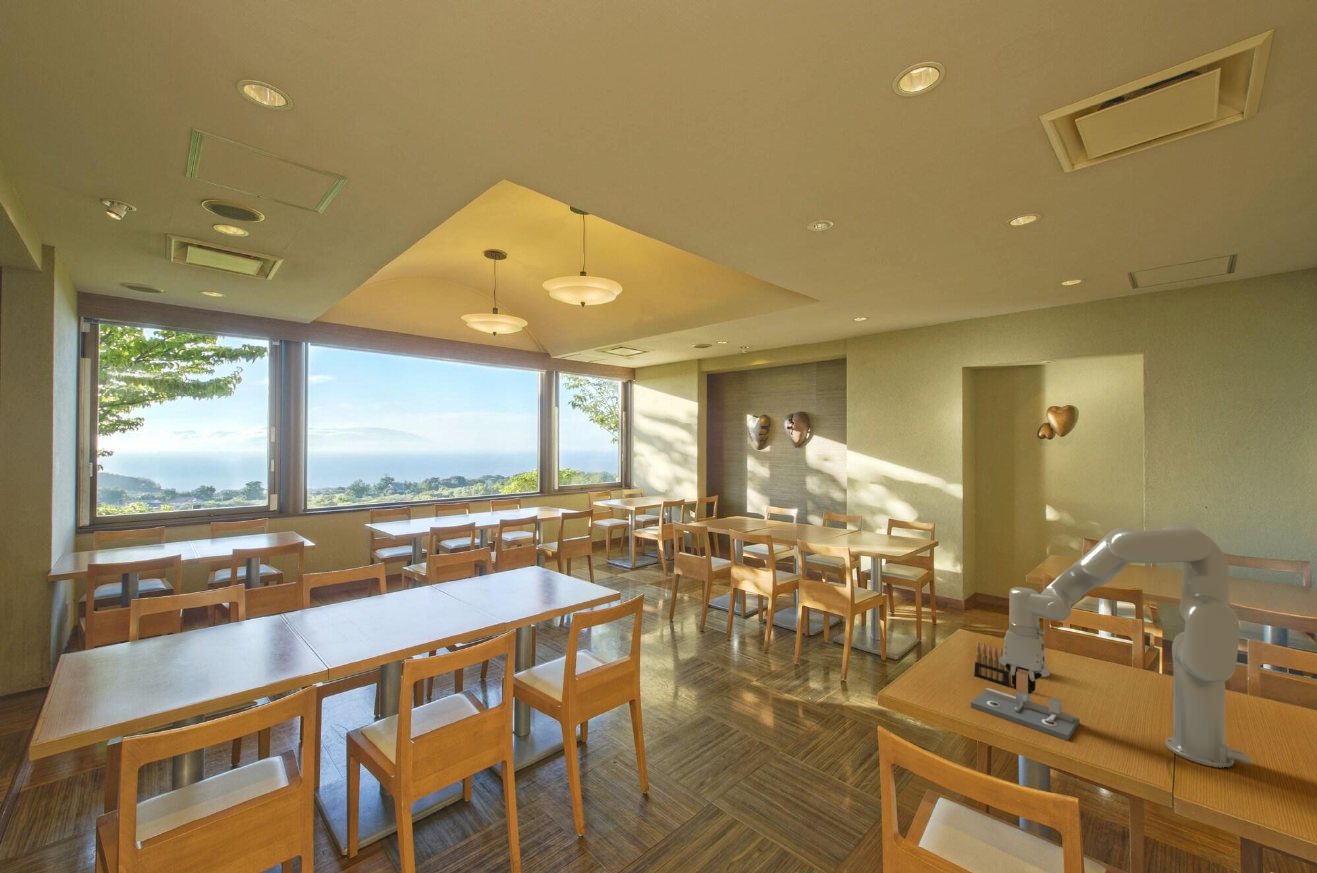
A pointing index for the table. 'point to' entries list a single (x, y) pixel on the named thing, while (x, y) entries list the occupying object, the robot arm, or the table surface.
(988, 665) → the ammunition clip
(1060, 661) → the table surface
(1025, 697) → the sliding leg
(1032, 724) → the grey slotted base plate
